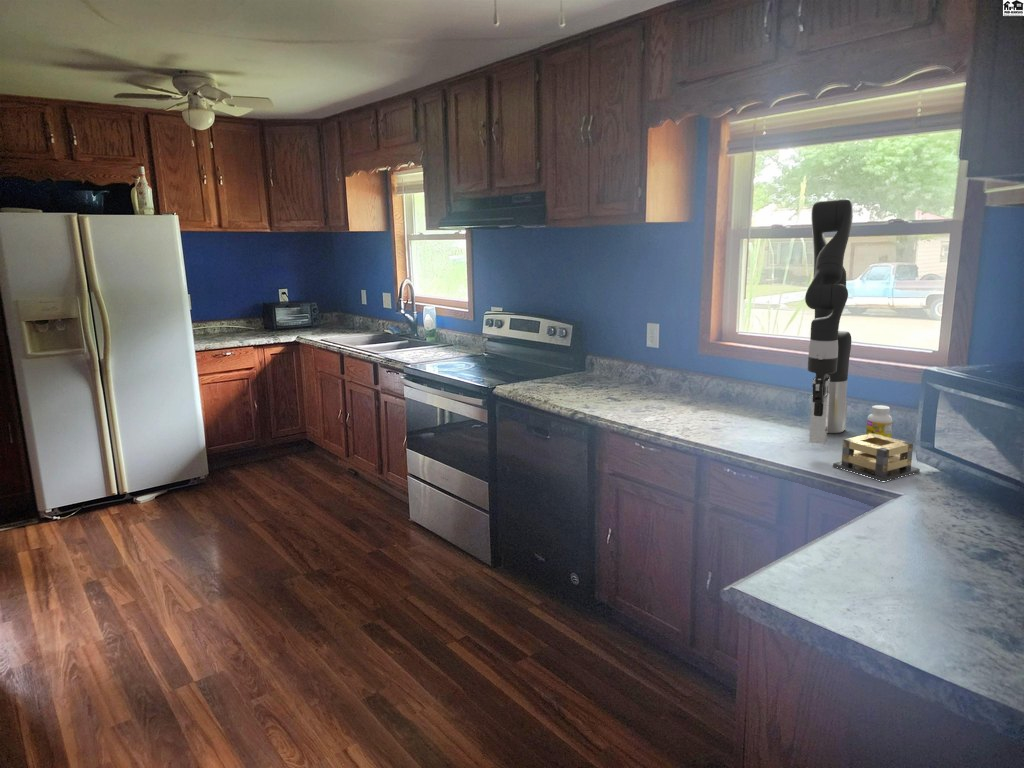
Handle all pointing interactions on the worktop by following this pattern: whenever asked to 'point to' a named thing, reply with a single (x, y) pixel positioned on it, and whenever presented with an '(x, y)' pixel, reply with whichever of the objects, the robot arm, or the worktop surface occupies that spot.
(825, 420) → the tall white block
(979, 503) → the worktop surface
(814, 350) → the robot arm
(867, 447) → the collar stand
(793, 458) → the worktop surface
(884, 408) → the supplement bottle
